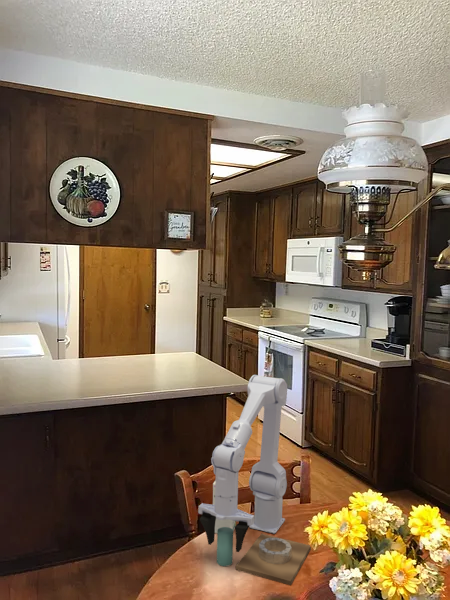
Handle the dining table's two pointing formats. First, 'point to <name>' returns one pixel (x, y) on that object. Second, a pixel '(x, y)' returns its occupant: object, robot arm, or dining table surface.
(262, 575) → the walnut board
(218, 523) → the syrup box
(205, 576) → the dining table surface
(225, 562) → the peg
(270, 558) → the socket ring
